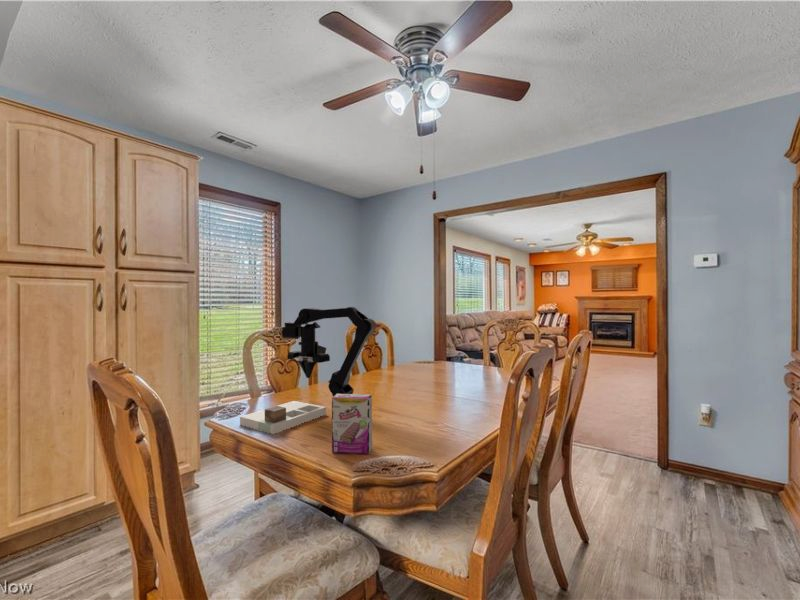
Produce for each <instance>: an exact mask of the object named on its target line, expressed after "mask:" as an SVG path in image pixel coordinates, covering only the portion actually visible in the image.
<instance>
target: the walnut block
mask: <svg viewBox="0 0 800 600" xmlns="http://www.w3.org/2000/svg"><path fill="white" fill-rule="evenodd" d="M264 409H265V421H268V422H272V423H276V422H279V421H282V420H285V419H286V408H285V407H280V406H278V405H275V406H271V407H267V408H264Z"/></svg>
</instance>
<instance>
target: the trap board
mask: <svg viewBox="0 0 800 600" xmlns="http://www.w3.org/2000/svg"><path fill="white" fill-rule="evenodd" d="M277 406H280V407H285V408H286V419H285V420H282V421H279V422H276V423H272V422H268V421H265V409H266V408H264V409H261V410H259V411H254V412H250V413H247V414H245V415H240V416H239V426H241V425H242V427H245V426H246V427H245V428H249V427H250V428H249V429H252V428H253V430H256V429H257V430H256V431H259V430H261V431H260V432H263V431H264V433H266V432H268V433H267V434H270V433H271V435H275V433H276V434H278V433H281V432H284V431H286V429H287V430H289V429H291V427H292V428H294V426H295V427H297V426H300V425H302V424H301V423H303V424H305V423H304V422H306V423H308V422H310V421H309V420H311V421H313V420H312V419H314V420H316V419H319V418H321V417H320V416H322V417H324V416H326V415H327V406H322V405H317V404H313V403H306V402H302V401H298V400H292V401H289V402H285V403H281V404H279V405H277ZM323 415H324V416H323ZM318 417H319V418H318ZM315 418H316V419H315ZM307 421H308V422H307ZM299 424H300V425H299ZM296 425H297V426H296ZM283 430H284V431H283Z"/></svg>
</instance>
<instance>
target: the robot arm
mask: <svg viewBox="0 0 800 600" xmlns="http://www.w3.org/2000/svg"><path fill="white" fill-rule="evenodd" d="M337 318H348V319H349V320H350V322H351V323H352V325H354V326H355V333H354V340H353V341H352V344H351V346H350V348H349V350H348V352H347V354H346V356H345V359H344V361H343V362H342V364H341V367H340V369H339V370H336V371H334V372H333V373H332V374H331V377H330V379H329V381H328V383H329V384H328V390H329V392H331V396H332V397H333V396H334V395H335V394H354V391H355V390H354V388H353V387H352V386H351V385H350V381H351V372H352V370H353V368H354V366H355V364H356V362H357V360H358V359H359V356H360V354H361V352H362V350H363V348H364V346H365V344H366V342H367V341H368V340H369V339H370V337H372V335H373V334H374V332H375V331H376V328H377V324H376V322H375V320H374V319H372V318H369V317H367V315H365V314H363V313H362V312H360V311H359V309H357V308H356V307H354V306H347V307H342V308H332V309H329V308H328V309H322V308H321V309H320V308H314V307H313V308H312V307H309V308H302V309H300V311H299V312H298V316H297V317H296V318H295V320H294V322H289V321H287V322H284V326H283V327H282V330H281V336H282V338H283V339H284V340H298V339H300V341H299V342H298V345H299V346H300V350H294V351H290V352H288V353H287V355H286V356H287V357H286V358H287V360H290V361H291V360H294V359H295V358H297V359H298V360H297V361H296V363H298V364H299V366H300V368H301V370H302V371H303V373H304V375H305V377H306V379H310V378H311V377H312V373H313V371H314V368H315V366H316V365H317V363H318V364H319V363H321V364H322V363H325V362H330V360H331V357H330V354H329V353H326V351H327V347H325V346H322V345H319V342H318V341H316V329H320V328H321V325H320V324H319V323H318V321H322V320H323V319H325V320H326V319H337Z"/></svg>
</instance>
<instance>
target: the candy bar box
mask: <svg viewBox="0 0 800 600" xmlns="http://www.w3.org/2000/svg"><path fill="white" fill-rule="evenodd" d="M331 399H332V400H331V422H332V423H331V453H332V454H350V455H353V454H354V455H370V453H371V451H372V448H373V438H372V437H373V395H372V394H364V393H363V394H360V393H353V394H335V395H334V396H333V395H332V397H331Z"/></svg>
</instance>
